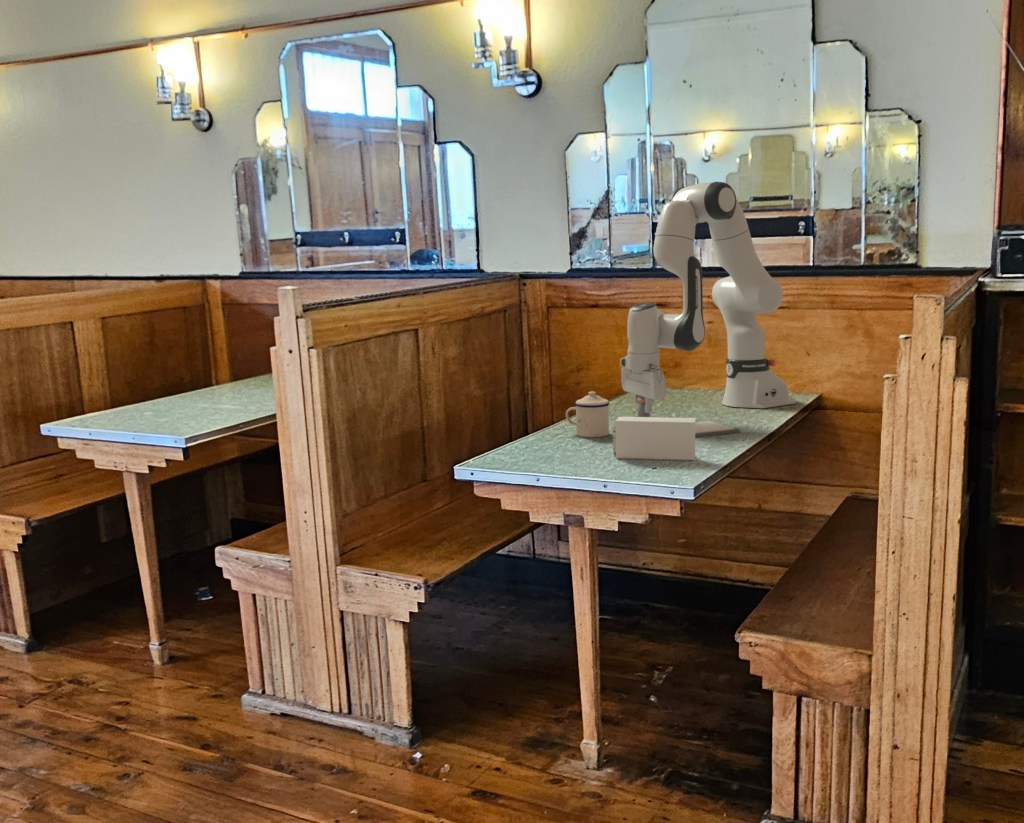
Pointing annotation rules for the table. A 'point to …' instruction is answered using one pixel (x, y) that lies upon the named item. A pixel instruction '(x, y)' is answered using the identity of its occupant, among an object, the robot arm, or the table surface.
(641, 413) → the cylinder
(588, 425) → the teacup with lid
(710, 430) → the whiteboard
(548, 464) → the table surface
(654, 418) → the cigarette display
